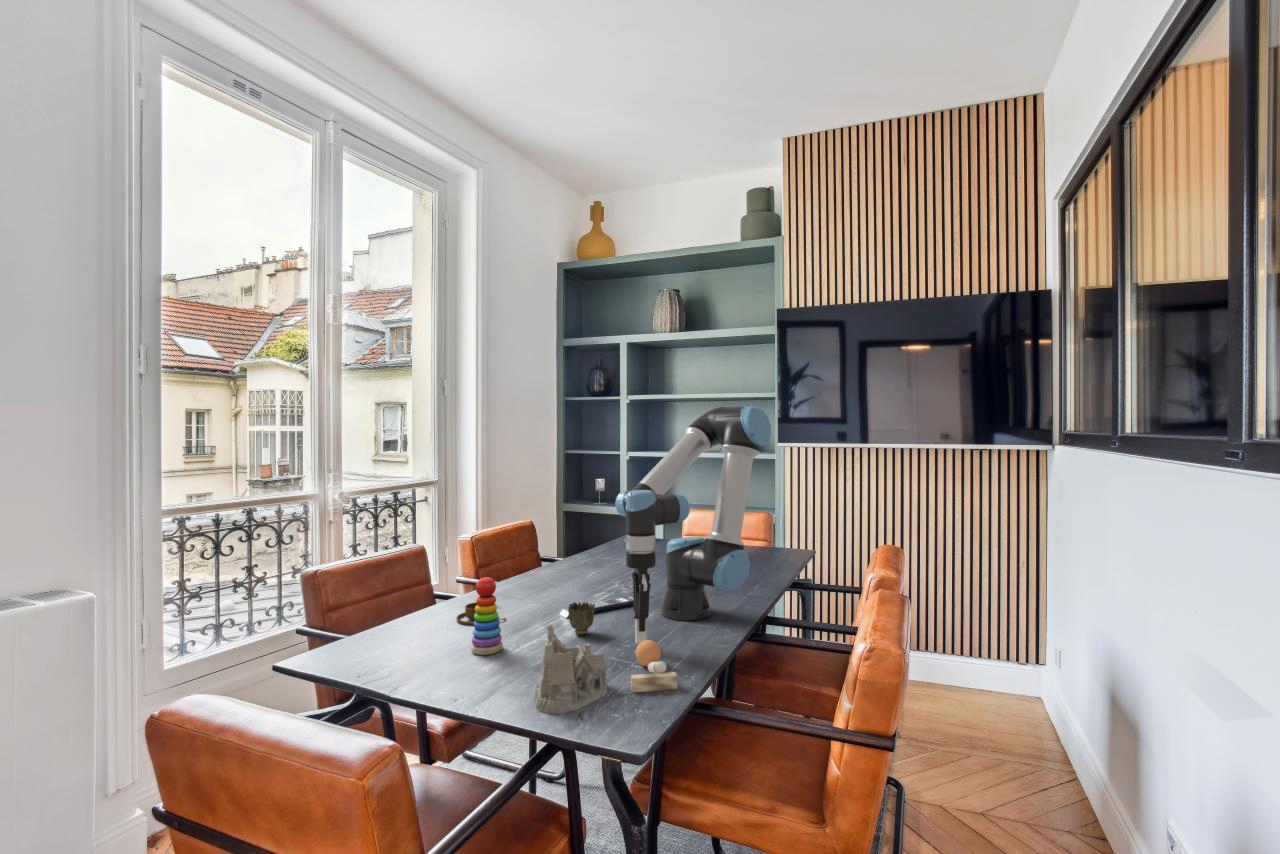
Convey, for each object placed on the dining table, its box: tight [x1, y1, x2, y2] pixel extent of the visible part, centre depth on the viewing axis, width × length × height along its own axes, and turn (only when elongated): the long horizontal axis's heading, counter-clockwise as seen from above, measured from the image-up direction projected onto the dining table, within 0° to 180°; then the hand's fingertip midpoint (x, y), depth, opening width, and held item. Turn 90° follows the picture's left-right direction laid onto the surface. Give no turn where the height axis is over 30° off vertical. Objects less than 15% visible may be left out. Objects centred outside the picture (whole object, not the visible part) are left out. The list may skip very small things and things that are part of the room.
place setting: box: [456, 602, 507, 626], centre depth 192 cm, size 18×20×6 cm
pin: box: [647, 660, 668, 674], centre depth 144 cm, size 2×2×8 cm
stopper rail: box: [630, 671, 678, 694], centre depth 138 cm, size 10×2×3 cm, turn 100°
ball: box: [635, 639, 662, 668], centre depth 152 cm, size 6×6×6 cm
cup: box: [567, 601, 596, 637], centre depth 175 cm, size 8×7×8 cm
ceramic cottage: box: [534, 623, 608, 715], centre depth 135 cm, size 16×16×15 cm
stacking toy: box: [470, 576, 504, 656], centre depth 162 cm, size 8×8×19 cm
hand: (641, 642), depth 162 cm, fingers closed
